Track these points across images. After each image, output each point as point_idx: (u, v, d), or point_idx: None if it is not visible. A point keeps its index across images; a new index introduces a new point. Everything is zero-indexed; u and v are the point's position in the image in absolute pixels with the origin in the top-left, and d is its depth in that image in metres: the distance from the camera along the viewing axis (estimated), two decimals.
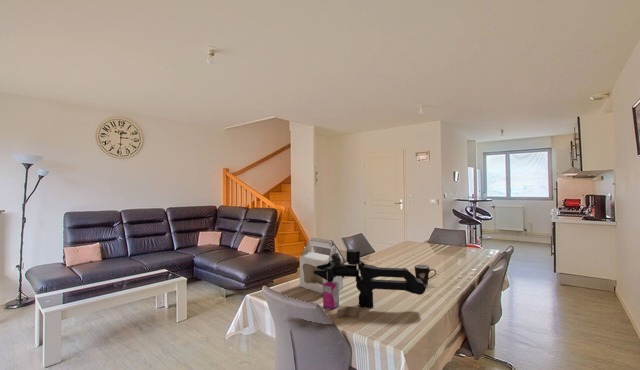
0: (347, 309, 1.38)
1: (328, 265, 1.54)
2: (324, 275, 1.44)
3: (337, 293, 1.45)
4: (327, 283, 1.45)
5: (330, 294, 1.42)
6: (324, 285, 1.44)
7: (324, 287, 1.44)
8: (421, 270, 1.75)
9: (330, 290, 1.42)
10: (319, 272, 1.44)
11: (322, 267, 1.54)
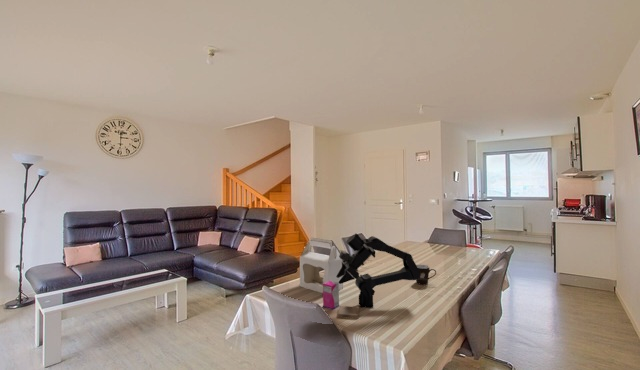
0: (347, 309, 1.38)
1: (344, 267, 1.51)
2: (349, 277, 1.40)
3: (337, 293, 1.45)
4: (327, 283, 1.45)
5: (330, 294, 1.42)
6: (324, 285, 1.44)
7: (324, 287, 1.44)
8: (421, 270, 1.75)
9: (330, 290, 1.42)
10: (343, 279, 1.40)
11: (341, 273, 1.50)
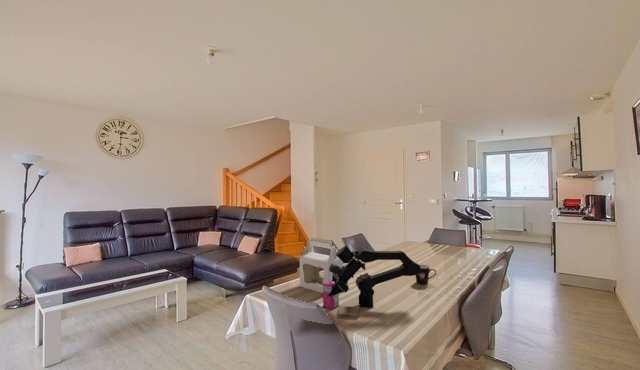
0: (347, 309, 1.38)
1: (334, 279, 1.50)
2: (338, 290, 1.40)
3: None
4: (327, 283, 1.45)
5: None
6: (324, 285, 1.44)
7: (324, 287, 1.44)
8: (421, 270, 1.75)
9: (330, 290, 1.42)
10: (333, 291, 1.40)
11: None
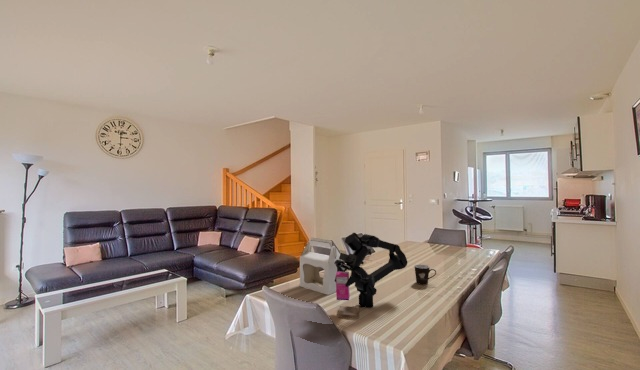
0: (347, 309, 1.38)
1: (340, 269, 1.43)
2: (355, 278, 1.36)
3: None
4: (340, 274, 1.37)
5: None
6: (338, 276, 1.36)
7: (338, 278, 1.36)
8: (421, 270, 1.75)
9: (346, 280, 1.35)
10: (350, 281, 1.34)
11: None
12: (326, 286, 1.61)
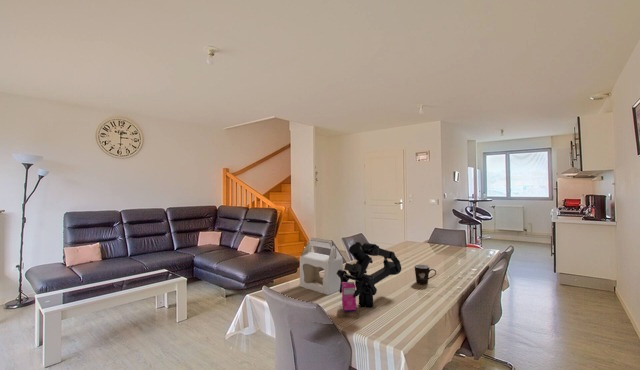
0: None
1: (344, 280, 1.42)
2: (362, 288, 1.35)
3: None
4: (346, 285, 1.35)
5: None
6: (345, 288, 1.34)
7: (345, 289, 1.34)
8: (421, 270, 1.75)
9: (354, 291, 1.34)
10: (358, 291, 1.34)
11: None
12: (326, 286, 1.61)
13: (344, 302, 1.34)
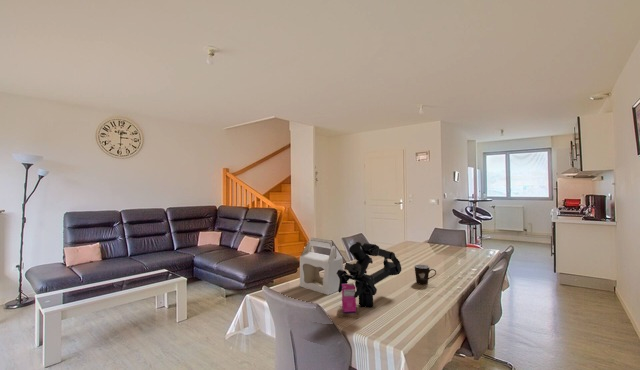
0: None
1: (343, 279, 1.42)
2: (363, 288, 1.35)
3: None
4: (346, 286, 1.35)
5: None
6: (345, 289, 1.34)
7: (345, 291, 1.34)
8: (421, 270, 1.75)
9: (354, 293, 1.34)
10: (359, 291, 1.33)
11: None
12: (326, 286, 1.61)
13: (344, 304, 1.34)
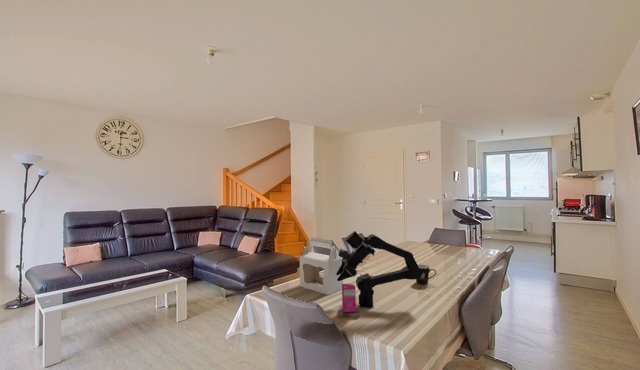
0: None
1: (343, 264, 1.51)
2: (347, 274, 1.40)
3: None
4: (346, 286, 1.35)
5: (354, 297, 1.34)
6: (345, 289, 1.34)
7: (345, 291, 1.34)
8: None
9: (354, 293, 1.34)
10: (341, 276, 1.41)
11: (341, 270, 1.51)
12: (326, 286, 1.61)
13: (344, 304, 1.34)
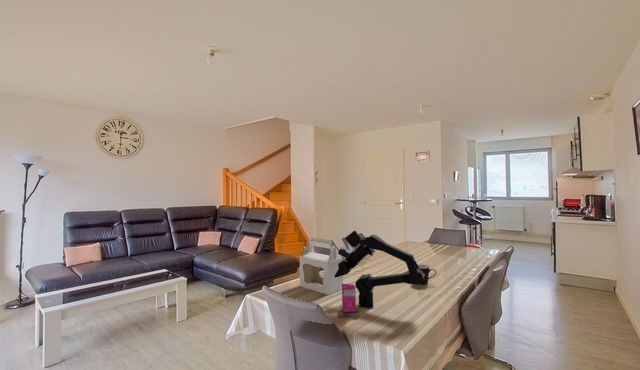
0: None
1: None
2: (342, 272, 1.45)
3: None
4: (346, 286, 1.35)
5: (354, 297, 1.34)
6: (345, 289, 1.34)
7: (345, 291, 1.34)
8: None
9: (354, 293, 1.34)
10: (337, 273, 1.46)
11: None
12: (326, 286, 1.61)
13: (344, 304, 1.34)
